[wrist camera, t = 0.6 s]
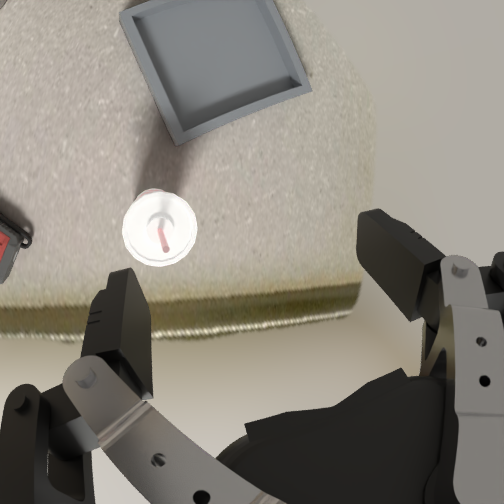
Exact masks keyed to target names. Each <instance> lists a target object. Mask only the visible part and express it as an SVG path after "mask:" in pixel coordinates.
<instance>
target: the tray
mask: <svg viewBox="0 0 504 504" xmlns="http://www.w3.org/2000/svg"><path fill="white" fill-rule="evenodd" d="M119 21H120V24H121V26H122V28H123V31H124V33H125V35H126V38H127V40H128V42H129V44H130V47H131V49H132V51H133V54H134V56H135V58H136V60H137V63H138V65H139V67H140V69H141V72H142V74H143V76H144V78H145V81H146V83H147V85H148V87H149V90H150V92H151V94H152V96H153V98H154V101H155V103H156V105H157V107H158V109H159V112H160V114H161V116H162V118H163V120H164V122H165V125H166V127H167V129H168V131H169V133H170V135H171V138H172V140H173V142H174V144H175V146H179V145H181V144H183V143H185V142H187V141H189V140H192V139H194V138H196V137H198V136H200V135H202V134H204V133H207V132H209V131H211V130H213V129H216V128H218V127H220V126H222V125H225V124H227V123H229V122H232V121H234V120H237V119H239V118H241V117H244V116H246V115H249V114H251V113H254V112H256V111H259V110H261V109H264V108H267V107H269V106H272V105H275V104H277V103H280V102H283V101H285V100H288V99H291V98H294V97H297V96H300V95H303V94H305V93H308V92H311V91H312V88H311V86H310V83H309V81H308V78H307V76H306V73H305V71H304V68H303V66H302V63H301V61H300V59H299V56H298V54H297V52H296V49H295V47H294V45H293V42H292V40H291V38H290V36H289V34H288V31H287V29H286V27H285V25H284V23H283V21H282V18H281V16H280V14H279V12H278V10H277V8H276V6H275V4H274V2H273V0H150V1H147V2H145V3H142V4H139V5H137V6H134V7H131V8H129V9H126V10H124V11H121V12H119Z"/></svg>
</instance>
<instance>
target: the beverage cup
mask: <svg viewBox="0 0 504 504" xmlns="http://www.w3.org/2000/svg"><path fill="white" fill-rule="evenodd" d="M197 229H198V228H197V223H196V217H195V214H194V212H193V211H192V209H191V208H190V206H189V205H188V203H187V202H186V201H185V200H183V199H181V198H180V197H178V196H177V195H175V194H174V193H169V192H165V191H163V190H161V189H155V188H152V189H148V190H145V191H143V192H142V193H141V194H139V195H138V196H137V198H136V200H135V201H134V202H133V203H132V205H131V206H130V208H129V210H128V211H127V213H126V215H125V216H124V222H123V229H122V235H123V238H124V242H125V246H126V248H127V249H128V250H129V252H130V253H131V254H132V255H133V257H134V258H135V259H137V260H139V261H141V262H142V263H144V264H146V265H150V266H159V267H162V266H166V265H170V264H174V263H176V262H177V261H179V260H180V259H182V258H183V257H184V256H186V255H187V254H188V252H189V251H190V249H191V248H192V246H193V245H194V243H195V239H196V234H197Z"/></svg>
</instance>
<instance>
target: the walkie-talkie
mask: <svg viewBox="0 0 504 504" xmlns="http://www.w3.org/2000/svg"><path fill="white" fill-rule="evenodd" d="M24 237H25V238H26V239H27V240H28V244H24V243H23V241H24ZM31 244H32V238H31V237H30V235H29V234H28V233H27V232H25V231H24V230H22V229H21V228H20V227H18V226H17V225H15V224H14V223H12V222H11V221H10V220H8V219H7V218H5V217H4V216H3V215H2V214H1V213H0V284H3V282H4V281H5V280H6V279H7V277H8V276H9V274H10V272H11V269H12V267H13V264H14V262H15V259H16V257H17V254H18V252H19V250H20V247H21V248H24V249H26V248H28V247H29V246H30V245H31Z"/></svg>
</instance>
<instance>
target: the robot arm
mask: <svg viewBox="0 0 504 504" xmlns="http://www.w3.org/2000/svg"><path fill="white" fill-rule="evenodd" d="M6 1H7V0H0V8H1V7H2V6H3V5H4V3H5V2H6ZM356 253H357V257H358V260H359V262H360V264H361V266H362V267H363V268H364V269H365V270H366V271H367V272H368V273H369V275H370V276H371V277H372V278H373V279H374V280H375V281H376V283H377V284H378V285H379V286H380V287H381V288H382V289H383V290H384V292H385V293H386V294H387V295H388V296H389V298H390V299H391V300H392V301H393V302H394V303H395V305H396V306H397V307H398V308H399V309H400V311H401V312H402V313H403V314H404V315H405V317H406V318H407V319H408V320H409V321H410V322H411V321H414V320H416V319H418V318H420V317H423V318H424V323H423V327H422V351H421V367H420V373H419V376H411V377H407V375H406V374H405V372H404V371H403V369H402V368H399V369H397V370H395V371H393V372H391V373H388V374H386V375H384V376H382V377H379V378H377V379H375V380H373V381H370V382H368V383H366V384H365V385H364V386H362V387H361V388H360V389H358V390H357V391H356V392H354V393H353V394H351V395H350V396H348V397H347V398H346V399H344V400H343V401H341V402H340V403H338V404H337V405H335V406H333V407H328V408H321V409H313V410H302V411H291V412H285V413H281V414H278V415H275V416H271V417H268V418H264V419H260V420H257V421H253V422H249V423H245V424H244V425H245V428H246V432H247V435H245V436H243V437H241V438H239V439H238V440H236V441H235V442H233V443H232V444H230V445H229V446H228V447H227V448H225V449H224V450H223V451H222V452H221V453H220V454H219V455H218V456H217V457H216V458H214V457H212V456H211V455H210V454H208V453H207V452H206V451H204V450H203V449H202V448H201V447H199V446H198V445H197V444H195V443H194V442H193V441H192V440H191V439H189V438H188V437H187V436H186V435H184V434H183V433H182V432H181V431H180V430H178V429H177V428H176V427H175V426H174V425H173V424H171V423H170V422H169V421H168V420H167V419H166V418H165V417H164V416H163V415H161V414H160V413H159V412H158V411H157V410H156V409H155V408H154V407H152V406H151V405H150V404H149V403H148V402H147V401H145V402H144V401H142V400H147V399H152V398H153V384H152V357H151V356H152V355H151V315H150V310H149V307H148V304H147V301H146V299H145V297H144V294H143V292H142V290H141V287H140V285H139V283H138V280H137V278H136V275H135V273H134V271H133V269H132V268H127V269H123V270H119V271H115V272H111V273H110V274H109V278H108V282H107V287H106V289H104V290H100V291H99V292H98V294H97V295H96V296H95V298H94V299H93V301H92V303H91V307H90V312H89V314H90V315H89V316H88V321H87V324H88V325H87V326H86V330H85V335H84V341H83V346H82V352H81V357H80V358H79V359H78V360H76V361H74V362H73V363H72V364H71V365H70V366H69V367H68V368H67V370H66V372H65V374H64V376H63V383H62V384H60V385H58V386H56V387H53V388H51V389H49V390H47V391H45V392H43V393H41V392H40V391H39V390H38V389H37V388H36V387H35V386H33V385H31V384H23V385H20V386H18V387H16V388H15V389H14V390H13V391H12V392H11V393H10V394H9V396H8V398H7V399H6V402H5V405H4V410H3V416H2V422H1V429H0V504H95V496H94V486H93V473H92V456H91V451H92V450H94V449H96V448H99V447H101V449H102V450H103V451H104V452H105V453H106V455H107V456H108V457H109V459H110V460H111V461H112V462H113V463H114V465H115V466H116V467H117V468H118V469H119V470H120V472H121V473H122V474H123V475H124V476H125V477H126V478H127V479H128V481H129V482H130V483H131V484H132V485H133V486H134V487H135V488H136V489H137V490H138V491H139V492H140V493H141V494H142V495H143V496H144V497H145V498H146V499H147V500H148V501H149V502H150V503H151V504H504V252H498V253H496V254H495V256H494V258H493V261H492V265H491V266H485V267H478V266H477V265H476V264H475V263H474V262H473V261H471V260H469V259H468V258H466V257H463V256H458V255H451V256H447V257H446V256H445V255H444V254H443V253H442V252H440V251H439V250H438V249H437V248H436V247H434V246H433V245H432V244H431V243H429V242H428V241H427V240H426V239H425V238H422V236H421V235H420V234H418V233H417V232H415V230H413V229H412V228H411V227H410V226H408V225H407V224H406V223H403V222H401V221H398V220H396V219H393V218H391V217H390V216H389V215H388V214H386V213H385V212H384V211H382V210H381V209H374V210H369V211H365V212H361V213H360V214H359V216H358V224H357V245H356ZM47 465H48V473H47Z"/></svg>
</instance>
